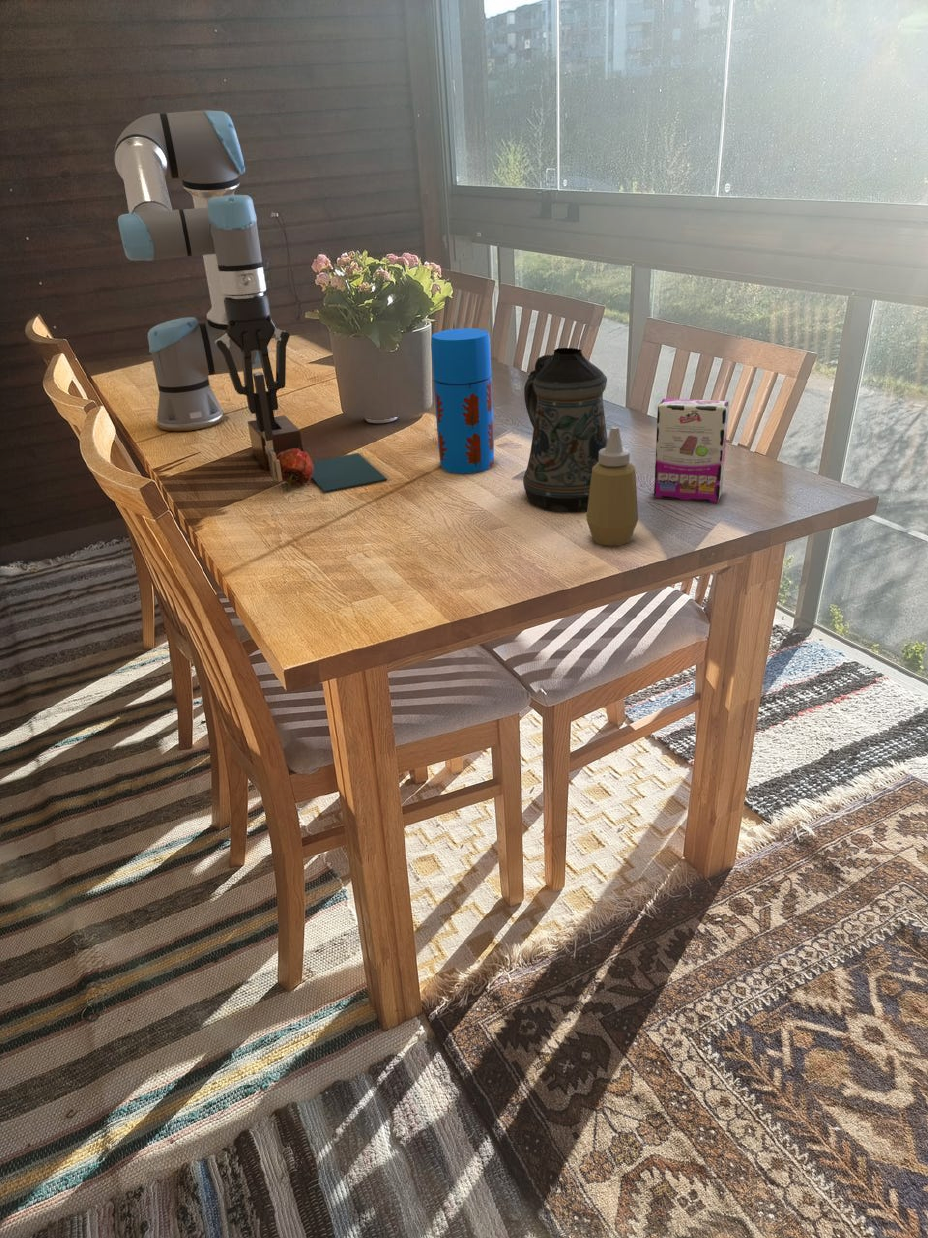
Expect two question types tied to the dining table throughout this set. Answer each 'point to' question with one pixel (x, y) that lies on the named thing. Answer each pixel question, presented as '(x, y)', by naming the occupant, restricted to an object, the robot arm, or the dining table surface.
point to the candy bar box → (690, 449)
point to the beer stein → (564, 430)
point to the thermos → (463, 399)
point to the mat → (344, 473)
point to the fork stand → (274, 439)
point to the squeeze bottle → (613, 494)
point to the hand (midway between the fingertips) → (266, 428)
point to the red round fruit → (295, 466)
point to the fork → (267, 427)
